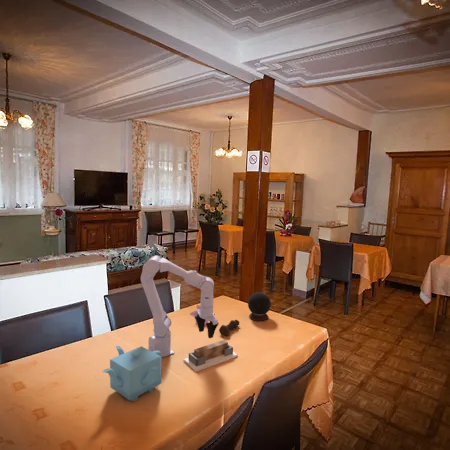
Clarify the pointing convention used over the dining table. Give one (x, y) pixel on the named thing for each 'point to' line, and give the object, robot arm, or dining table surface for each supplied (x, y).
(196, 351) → the slat
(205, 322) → the lily
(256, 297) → the black ball on stand
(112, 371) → the blue cube teapot
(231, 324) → the bolt
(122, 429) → the dining table surface
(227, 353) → the board
